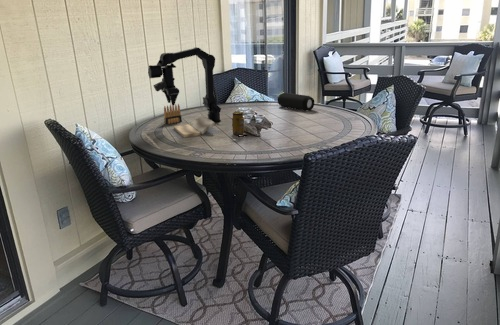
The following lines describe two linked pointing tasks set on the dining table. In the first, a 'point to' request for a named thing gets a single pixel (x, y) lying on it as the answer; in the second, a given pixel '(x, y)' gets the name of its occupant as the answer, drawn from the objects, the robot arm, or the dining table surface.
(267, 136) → the dining table surface
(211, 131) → the underlay mat
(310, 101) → the portable speaker
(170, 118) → the ammunition clip
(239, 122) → the condiment
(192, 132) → the plank
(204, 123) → the loose plank
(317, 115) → the dining table surface
